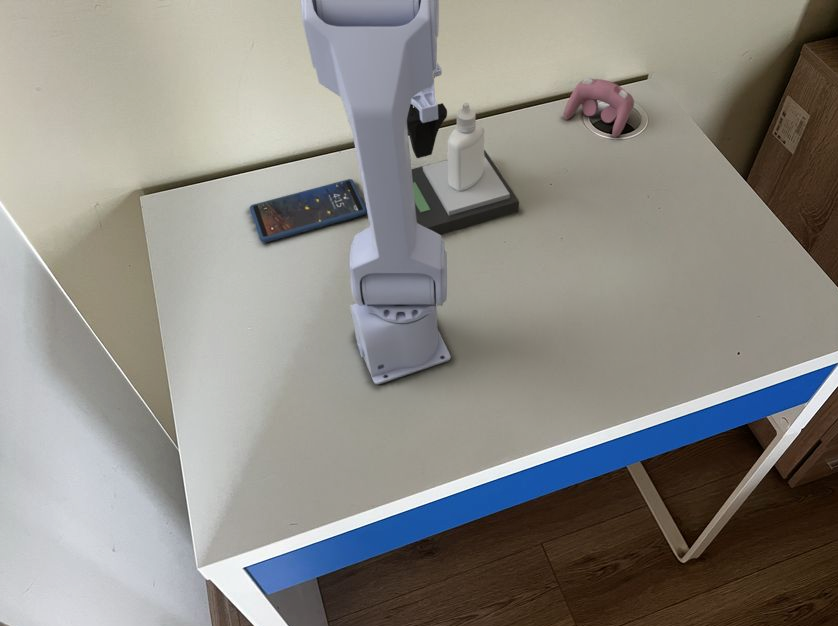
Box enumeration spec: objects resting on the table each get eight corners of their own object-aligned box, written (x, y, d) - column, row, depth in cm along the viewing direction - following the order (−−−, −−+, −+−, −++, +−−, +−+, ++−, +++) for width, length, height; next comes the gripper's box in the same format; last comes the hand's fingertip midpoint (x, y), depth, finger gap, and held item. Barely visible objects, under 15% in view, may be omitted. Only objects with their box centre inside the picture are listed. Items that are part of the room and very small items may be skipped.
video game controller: (625, 136, 110) (641, 91, 107) (616, 139, 106) (633, 92, 103) (569, 116, 113) (583, 71, 110) (559, 118, 109) (573, 72, 106)
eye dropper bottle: (490, 184, 97) (493, 109, 87) (452, 194, 96) (451, 119, 86) (478, 165, 100) (480, 89, 90) (441, 174, 98) (438, 99, 89)
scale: (424, 239, 95) (423, 224, 93) (395, 184, 101) (393, 169, 99) (518, 211, 98) (519, 196, 96) (484, 160, 104) (484, 144, 102)
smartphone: (248, 204, 97) (352, 177, 101) (249, 209, 98) (352, 181, 101) (260, 241, 93) (368, 211, 97) (261, 245, 94) (368, 215, 97)
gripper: (462, 63, 77) (462, 163, 88) (416, 0, 85) (422, 99, 96) (401, 78, 76) (409, 177, 87) (360, 12, 83) (373, 111, 94)
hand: (413, 137), depth 91 cm, fingers open, 7 cm apart
